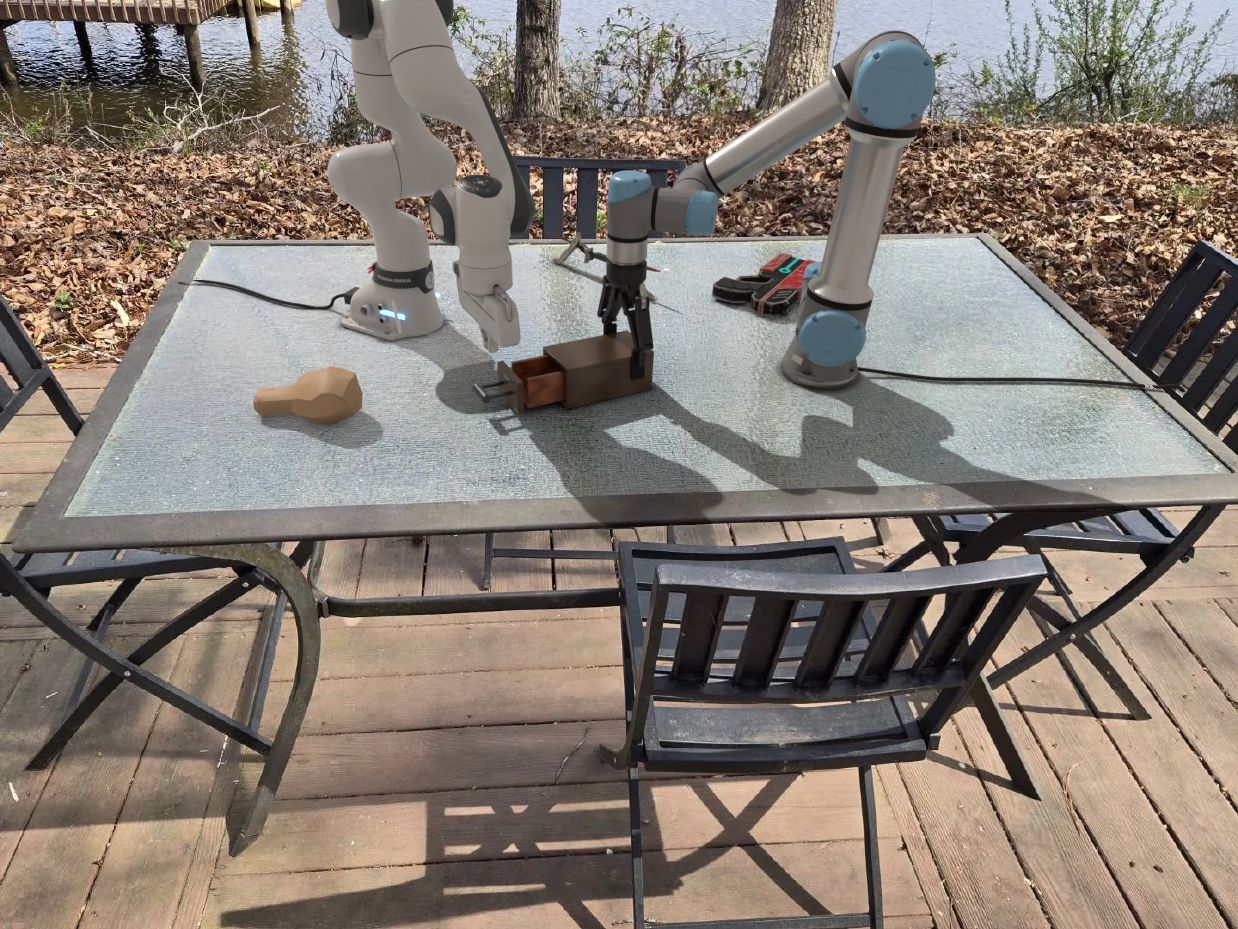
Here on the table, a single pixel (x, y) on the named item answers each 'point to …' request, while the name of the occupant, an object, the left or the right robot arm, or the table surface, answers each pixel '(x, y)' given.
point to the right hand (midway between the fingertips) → (623, 366)
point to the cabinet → (599, 368)
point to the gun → (766, 286)
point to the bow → (591, 257)
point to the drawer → (526, 383)
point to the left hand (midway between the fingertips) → (491, 349)
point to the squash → (314, 397)
